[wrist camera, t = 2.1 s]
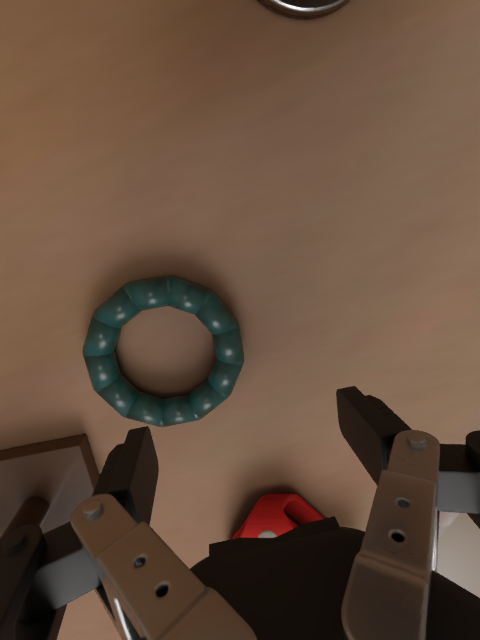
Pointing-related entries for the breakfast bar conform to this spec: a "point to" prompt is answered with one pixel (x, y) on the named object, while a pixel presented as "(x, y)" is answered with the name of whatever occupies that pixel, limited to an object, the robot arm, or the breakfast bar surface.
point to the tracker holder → (276, 516)
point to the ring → (153, 296)
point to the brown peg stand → (45, 483)
